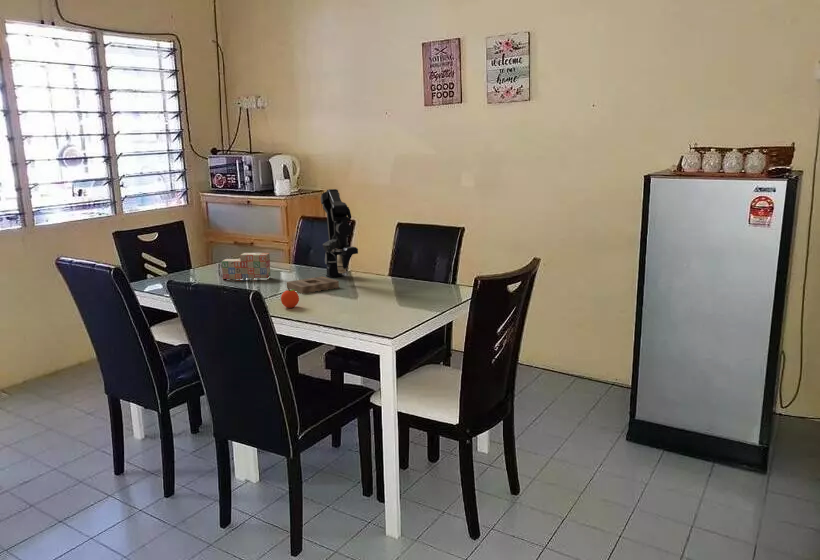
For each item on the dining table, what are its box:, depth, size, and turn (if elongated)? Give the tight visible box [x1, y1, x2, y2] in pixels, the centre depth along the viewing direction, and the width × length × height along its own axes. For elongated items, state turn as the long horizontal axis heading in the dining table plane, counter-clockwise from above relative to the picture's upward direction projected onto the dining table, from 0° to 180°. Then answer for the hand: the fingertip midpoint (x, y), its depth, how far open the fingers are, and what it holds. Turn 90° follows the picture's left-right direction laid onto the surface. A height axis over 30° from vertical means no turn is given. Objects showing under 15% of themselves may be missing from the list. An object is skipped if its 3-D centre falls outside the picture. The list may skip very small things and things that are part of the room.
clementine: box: [280, 289, 300, 309], centre depth 252 cm, size 8×7×7 cm
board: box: [286, 276, 340, 295], centre depth 285 cm, size 18×14×3 cm
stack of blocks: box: [221, 252, 271, 280], centre depth 306 cm, size 21×6×12 cm, turn 86°
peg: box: [337, 254, 347, 274], centre depth 290 cm, size 4×4×8 cm
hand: (342, 267), depth 290 cm, fingers closed on peg, 4 cm apart
